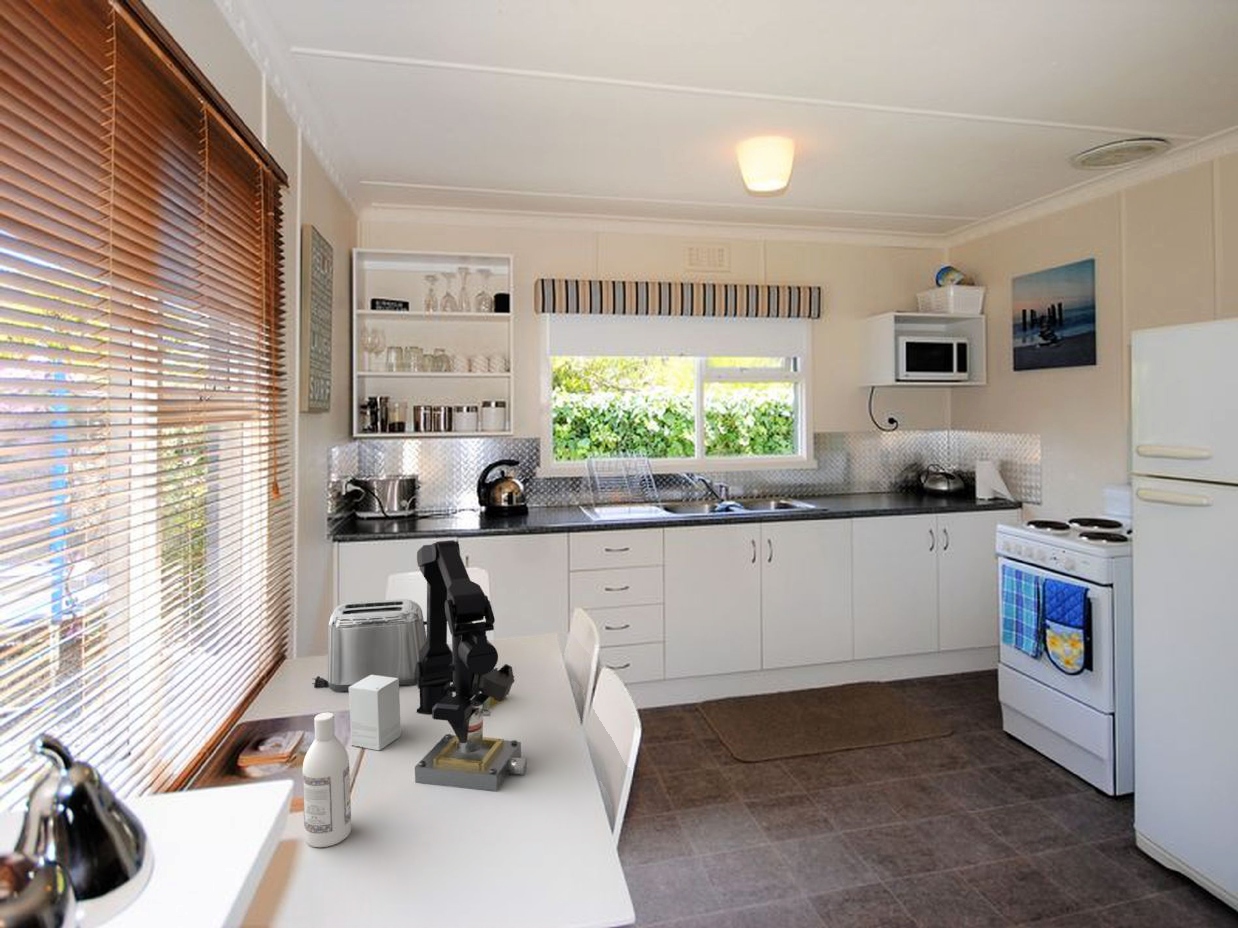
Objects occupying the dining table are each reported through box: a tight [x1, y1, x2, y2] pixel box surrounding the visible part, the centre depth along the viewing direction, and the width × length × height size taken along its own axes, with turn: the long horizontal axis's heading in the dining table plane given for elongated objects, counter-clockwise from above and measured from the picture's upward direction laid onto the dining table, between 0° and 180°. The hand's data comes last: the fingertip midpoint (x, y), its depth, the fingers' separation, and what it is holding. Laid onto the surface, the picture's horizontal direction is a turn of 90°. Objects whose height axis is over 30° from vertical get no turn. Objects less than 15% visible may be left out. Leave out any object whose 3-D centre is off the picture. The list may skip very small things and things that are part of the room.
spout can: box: [455, 700, 492, 753], centre depth 131 cm, size 7×5×8 cm
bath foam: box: [301, 711, 352, 848], centre depth 110 cm, size 7×7×20 cm
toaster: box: [311, 598, 427, 693], centre depth 176 cm, size 17×30×19 cm, turn 104°
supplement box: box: [348, 675, 402, 751], centre depth 143 cm, size 7×7×13 cm
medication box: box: [483, 695, 508, 709], centre depth 160 cm, size 12×3×4 cm, turn 146°
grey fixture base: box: [414, 733, 528, 792], centre depth 131 cm, size 19×13×4 cm
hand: (469, 736), depth 131 cm, fingers closed on spout can, 5 cm apart
